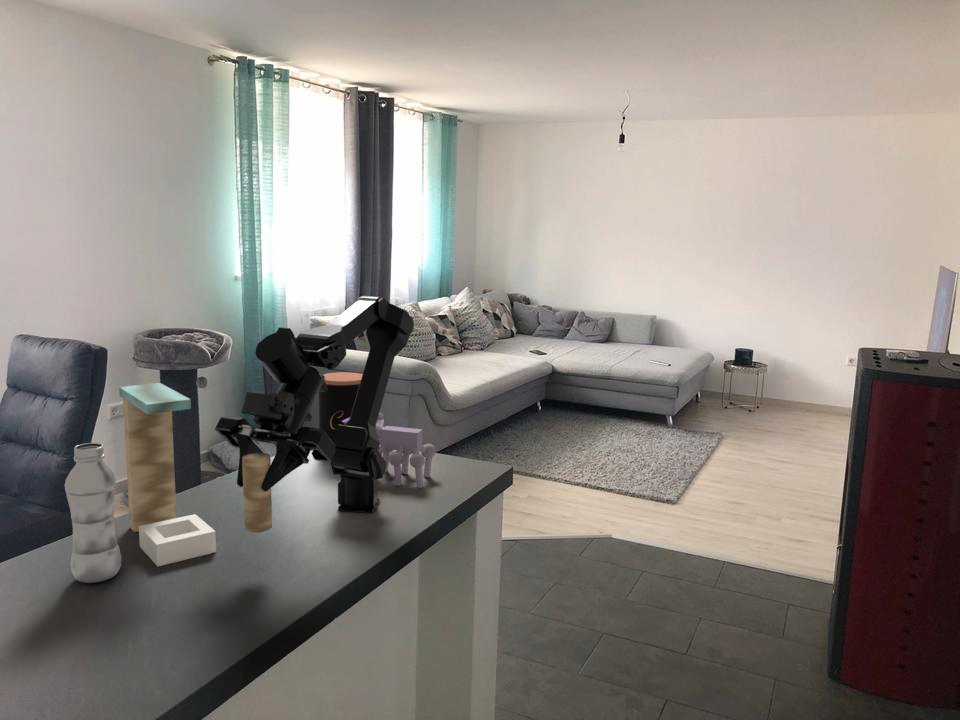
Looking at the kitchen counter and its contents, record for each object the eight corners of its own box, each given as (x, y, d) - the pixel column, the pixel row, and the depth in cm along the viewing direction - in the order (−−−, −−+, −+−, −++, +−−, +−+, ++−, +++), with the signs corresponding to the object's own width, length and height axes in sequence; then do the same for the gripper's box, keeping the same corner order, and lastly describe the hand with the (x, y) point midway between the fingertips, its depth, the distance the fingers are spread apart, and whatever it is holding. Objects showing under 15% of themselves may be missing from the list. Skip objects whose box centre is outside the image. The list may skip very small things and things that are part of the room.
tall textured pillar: (171, 518, 137) (165, 382, 133) (202, 546, 126) (197, 398, 121) (126, 528, 132) (119, 386, 128) (154, 558, 121) (146, 404, 117)
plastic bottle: (130, 578, 114) (122, 446, 111) (81, 593, 109) (72, 456, 106) (111, 564, 118) (104, 437, 115) (64, 578, 113) (54, 446, 110)
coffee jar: (327, 463, 171) (326, 382, 167) (313, 450, 180) (313, 373, 177) (373, 457, 175) (373, 379, 172) (358, 445, 185) (358, 370, 182)
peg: (276, 523, 119) (274, 453, 117) (266, 533, 115) (264, 461, 113) (250, 521, 119) (248, 452, 117) (240, 531, 115) (237, 460, 113)
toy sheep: (329, 479, 160) (330, 414, 158) (352, 467, 170) (353, 405, 168) (420, 491, 154) (422, 423, 153) (438, 477, 164) (440, 414, 163)
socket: (196, 533, 131) (195, 514, 130) (216, 552, 124) (215, 531, 123) (139, 546, 125) (138, 526, 124) (157, 566, 118) (156, 544, 118)
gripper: (220, 364, 120) (171, 452, 112) (324, 376, 113) (279, 470, 105) (254, 403, 128) (211, 488, 120) (353, 416, 122) (313, 507, 113)
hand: (251, 488), depth 114 cm, fingers closed on peg, 4 cm apart
